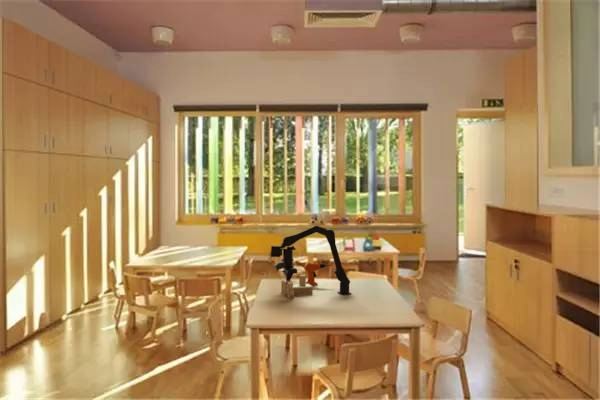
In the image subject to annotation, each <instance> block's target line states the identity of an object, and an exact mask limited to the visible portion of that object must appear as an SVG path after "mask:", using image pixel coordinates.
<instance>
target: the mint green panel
mask: <svg viewBox="0 0 600 400" xmlns="http://www.w3.org/2000/svg"><path fill="white" fill-rule="evenodd" d="M298 277H299V278H298V279H299V280H298V281H299V284H296V283H295V284H294V283H293V287H292V289H294V288H311V287H313V286H311V285H309V284H306V282H307V281H306V278H307V277H306V275H305V274H300V275H299V276H298Z"/></svg>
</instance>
